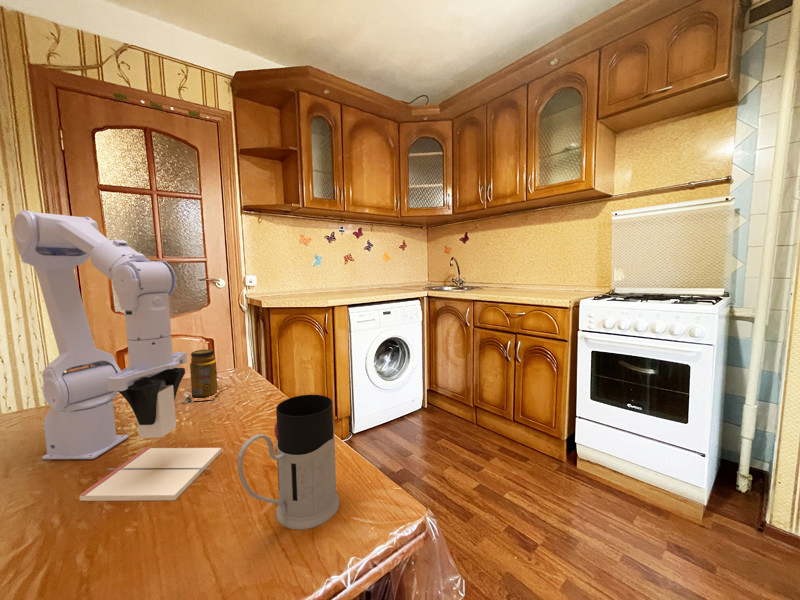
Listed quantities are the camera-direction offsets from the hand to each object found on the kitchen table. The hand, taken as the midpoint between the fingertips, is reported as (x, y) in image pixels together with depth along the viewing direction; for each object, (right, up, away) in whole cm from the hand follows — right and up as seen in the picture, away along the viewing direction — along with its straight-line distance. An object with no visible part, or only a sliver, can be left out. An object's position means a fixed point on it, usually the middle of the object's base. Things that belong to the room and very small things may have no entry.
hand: (156, 418), depth 55 cm
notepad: (0, -9, +1) cm, 9 cm away
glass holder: (+25, -10, -10) cm, 29 cm away
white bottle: (0, -2, 0) cm, 2 cm away
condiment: (-12, -6, +34) cm, 37 cm away
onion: (+20, -9, +8) cm, 23 cm away
